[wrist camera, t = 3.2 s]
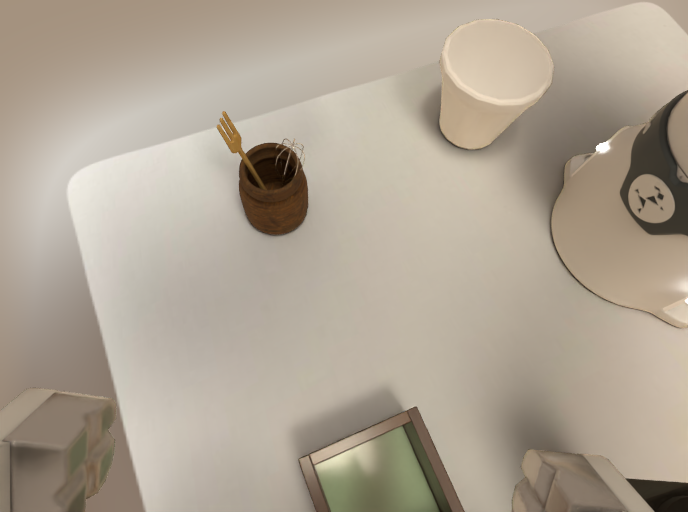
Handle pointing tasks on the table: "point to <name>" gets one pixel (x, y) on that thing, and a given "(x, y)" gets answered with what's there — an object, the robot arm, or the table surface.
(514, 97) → the cup
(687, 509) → the candle
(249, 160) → the utensil holder
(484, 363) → the table surface
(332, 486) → the wooden divided box
